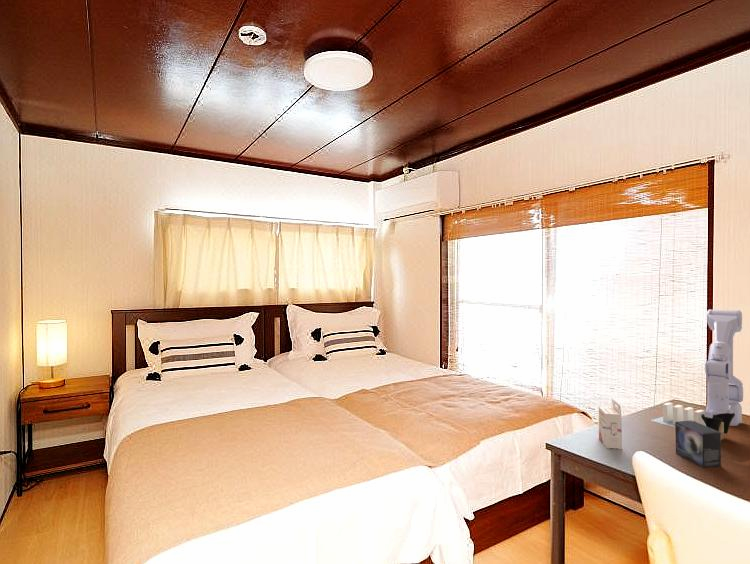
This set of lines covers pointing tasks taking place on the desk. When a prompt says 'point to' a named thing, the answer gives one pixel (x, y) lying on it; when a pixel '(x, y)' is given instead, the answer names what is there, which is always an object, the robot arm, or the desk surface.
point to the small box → (698, 443)
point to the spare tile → (722, 430)
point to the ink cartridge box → (610, 426)
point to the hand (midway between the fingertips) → (718, 434)
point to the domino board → (660, 420)
